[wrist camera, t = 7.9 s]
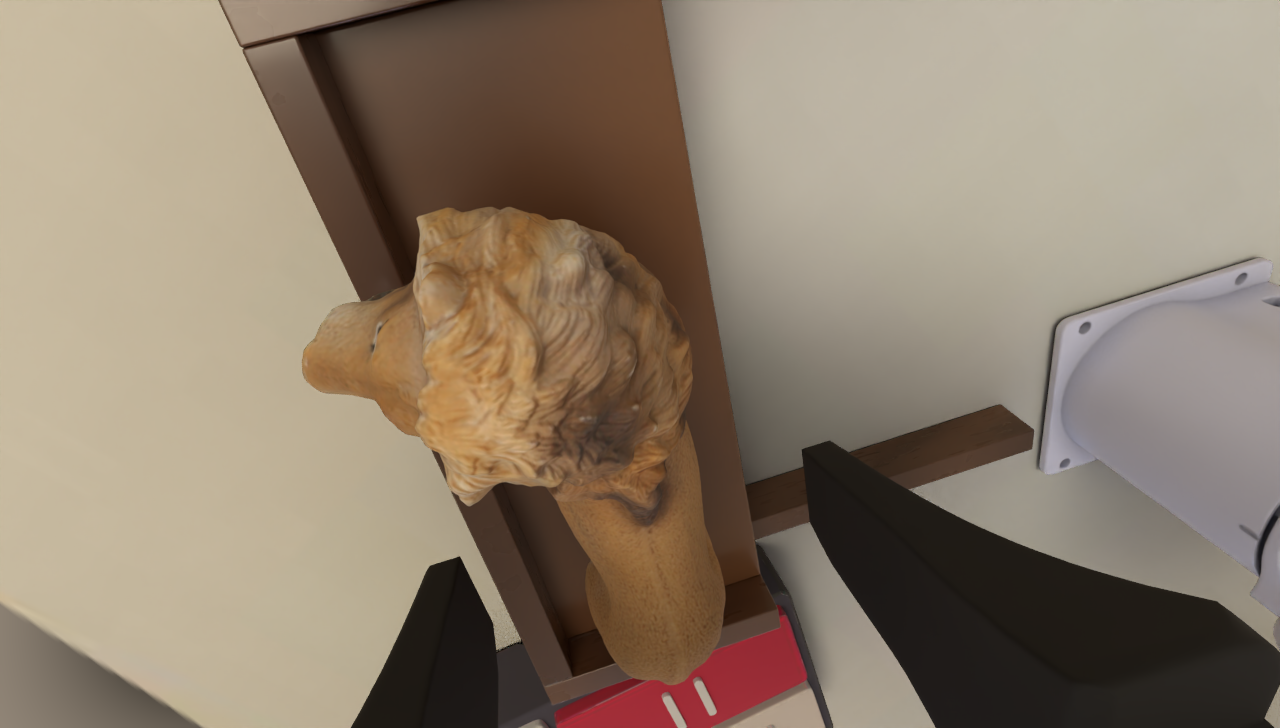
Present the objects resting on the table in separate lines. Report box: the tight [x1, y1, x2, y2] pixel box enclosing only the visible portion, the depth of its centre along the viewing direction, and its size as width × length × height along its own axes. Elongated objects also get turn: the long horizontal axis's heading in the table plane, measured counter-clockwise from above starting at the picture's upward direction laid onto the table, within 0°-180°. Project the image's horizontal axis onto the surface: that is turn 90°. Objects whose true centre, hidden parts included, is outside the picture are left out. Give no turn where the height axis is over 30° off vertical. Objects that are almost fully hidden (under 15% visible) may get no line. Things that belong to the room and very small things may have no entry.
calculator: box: [497, 545, 833, 728], centre depth 30 cm, size 11×4×15 cm
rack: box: [218, 0, 1034, 705], centre depth 20 cm, size 20×21×6 cm
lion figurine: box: [302, 207, 726, 685], centre depth 14 cm, size 15×5×9 cm, turn 24°
